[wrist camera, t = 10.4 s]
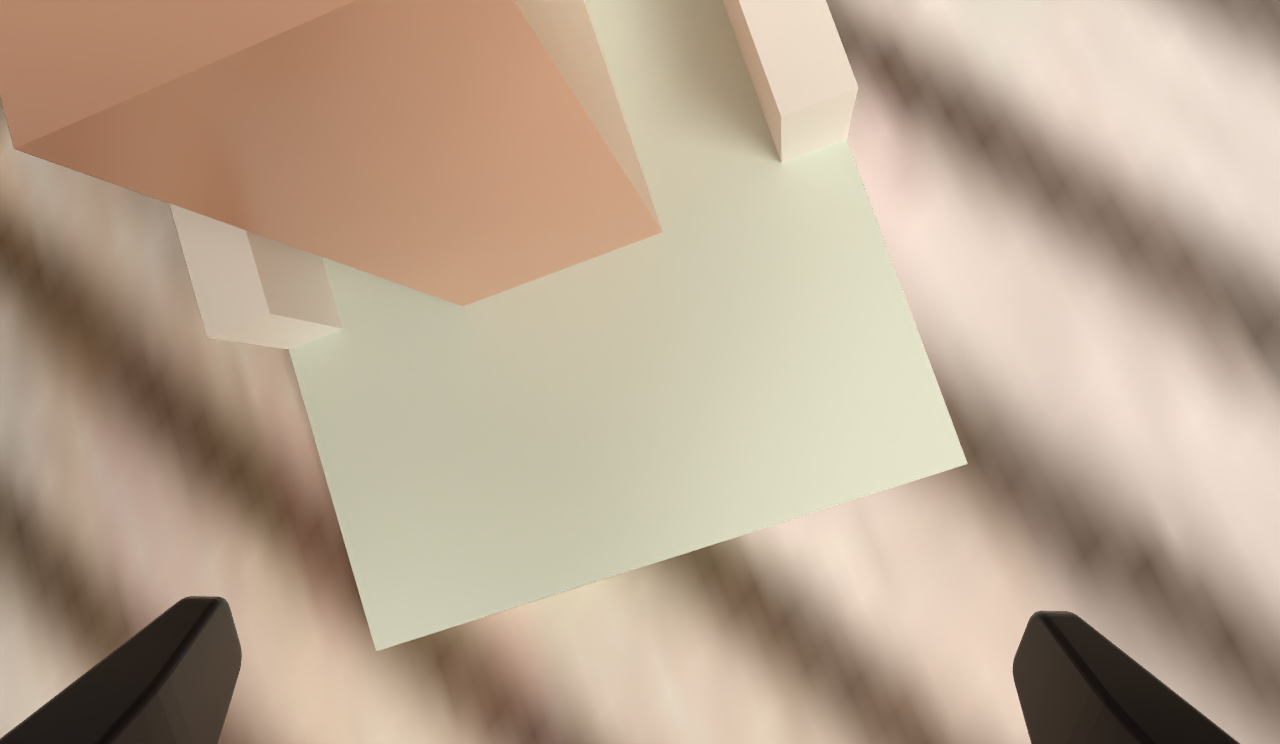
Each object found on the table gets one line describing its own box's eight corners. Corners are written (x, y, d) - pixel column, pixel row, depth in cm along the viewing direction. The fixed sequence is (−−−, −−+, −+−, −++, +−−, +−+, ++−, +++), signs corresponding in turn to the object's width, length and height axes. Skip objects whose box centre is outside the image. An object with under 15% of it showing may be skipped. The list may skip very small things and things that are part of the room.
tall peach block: (662, 232, 20) (479, -53, 8) (463, 306, 20) (13, 148, 8) (581, -6, 20) (296, -605, 8) (390, 74, 21) (-122, -375, 9)
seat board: (957, 461, 19) (1002, 472, 15) (394, 640, 21) (306, 690, 17) (720, -179, 21) (706, -318, 17) (219, 41, 23) (101, -38, 19)
